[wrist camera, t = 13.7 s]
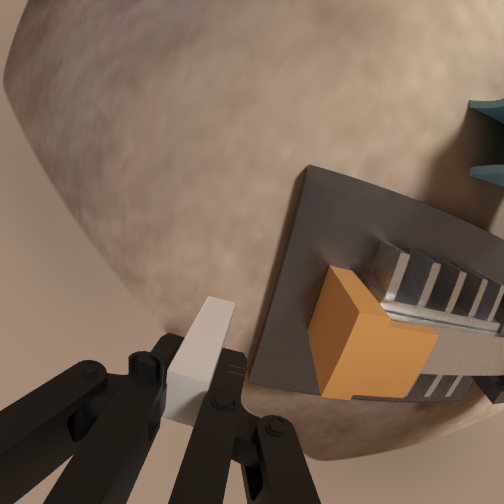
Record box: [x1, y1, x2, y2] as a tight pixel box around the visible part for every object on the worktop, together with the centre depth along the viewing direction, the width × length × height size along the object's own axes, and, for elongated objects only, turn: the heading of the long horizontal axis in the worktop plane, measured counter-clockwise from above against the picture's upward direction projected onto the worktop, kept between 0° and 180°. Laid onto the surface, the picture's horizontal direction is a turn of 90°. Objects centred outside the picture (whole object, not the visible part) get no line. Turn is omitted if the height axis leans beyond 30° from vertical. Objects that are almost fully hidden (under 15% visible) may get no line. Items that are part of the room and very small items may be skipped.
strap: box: [387, 313, 504, 383], centre depth 18 cm, size 6×20×2 cm, turn 77°
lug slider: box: [307, 265, 439, 400], centre depth 19 cm, size 6×6×8 cm
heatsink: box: [248, 165, 504, 404], centre depth 20 cm, size 20×28×8 cm
